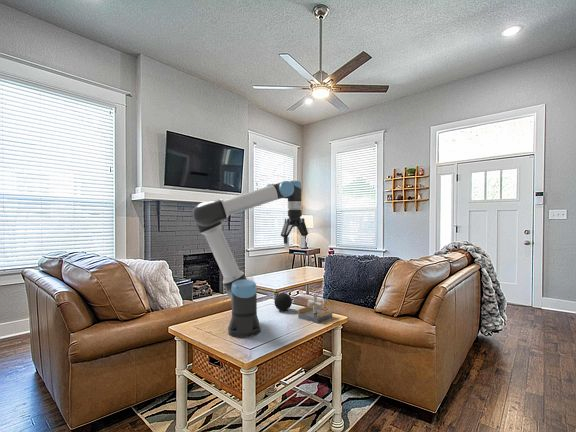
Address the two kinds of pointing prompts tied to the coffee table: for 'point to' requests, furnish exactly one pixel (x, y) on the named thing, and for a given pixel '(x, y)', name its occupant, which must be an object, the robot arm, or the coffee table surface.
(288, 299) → the speaker
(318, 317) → the block
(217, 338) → the coffee table surface
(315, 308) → the pipe connector
